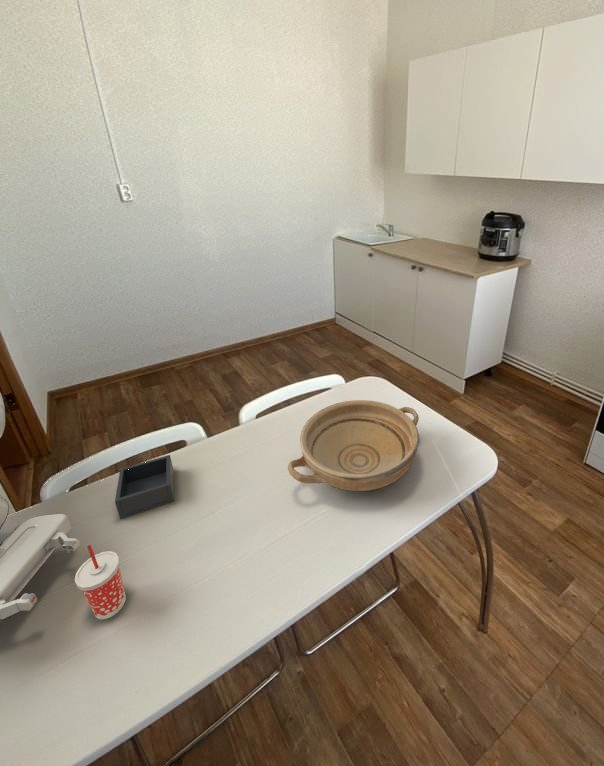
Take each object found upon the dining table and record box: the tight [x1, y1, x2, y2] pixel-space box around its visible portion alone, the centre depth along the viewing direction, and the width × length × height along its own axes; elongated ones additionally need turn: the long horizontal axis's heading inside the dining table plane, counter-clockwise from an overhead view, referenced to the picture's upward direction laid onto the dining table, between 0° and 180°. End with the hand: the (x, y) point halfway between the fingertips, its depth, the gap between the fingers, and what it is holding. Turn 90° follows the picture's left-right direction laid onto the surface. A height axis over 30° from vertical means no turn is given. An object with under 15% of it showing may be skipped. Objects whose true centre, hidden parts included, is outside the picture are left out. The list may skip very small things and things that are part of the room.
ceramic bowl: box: [287, 399, 420, 492], centre depth 94 cm, size 37×29×10 cm
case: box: [114, 454, 175, 520], centre depth 88 cm, size 11×11×5 cm
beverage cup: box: [74, 544, 127, 621], centre depth 63 cm, size 6×6×14 cm
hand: (56, 571), depth 64 cm, fingers open, 8 cm apart
